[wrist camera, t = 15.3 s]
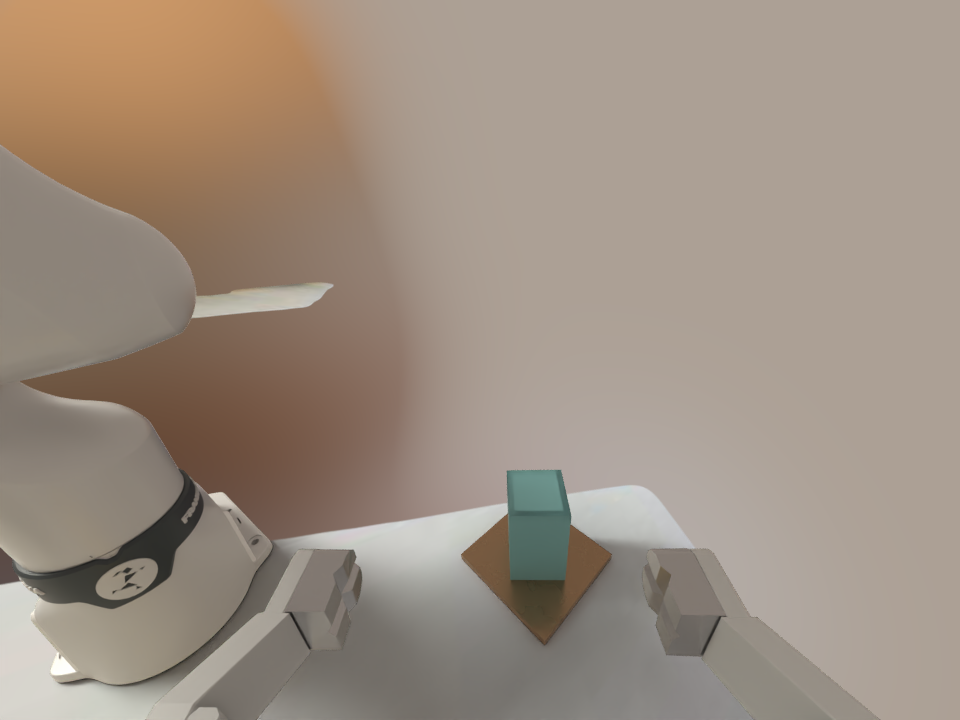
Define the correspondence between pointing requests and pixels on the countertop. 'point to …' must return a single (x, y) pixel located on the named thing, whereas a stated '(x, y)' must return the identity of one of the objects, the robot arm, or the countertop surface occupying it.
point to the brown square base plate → (536, 599)
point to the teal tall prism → (537, 524)
